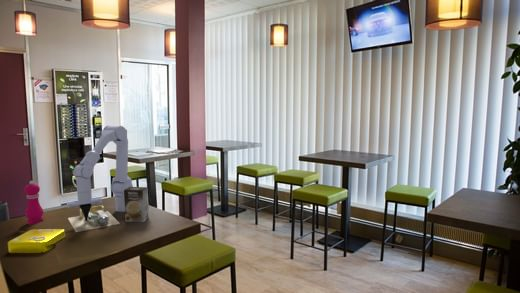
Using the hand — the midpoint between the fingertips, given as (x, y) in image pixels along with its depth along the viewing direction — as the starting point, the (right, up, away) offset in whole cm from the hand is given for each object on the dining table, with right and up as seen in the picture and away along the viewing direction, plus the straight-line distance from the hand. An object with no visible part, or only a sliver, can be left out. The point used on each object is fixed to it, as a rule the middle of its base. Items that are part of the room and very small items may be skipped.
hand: (86, 220), depth 166 cm
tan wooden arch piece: (-2, 0, +11) cm, 11 cm away
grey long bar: (+6, -1, +2) cm, 6 cm away
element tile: (-8, -6, -23) cm, 25 cm away
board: (+2, -2, +3) cm, 4 cm away
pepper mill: (-26, -2, +5) cm, 27 cm away
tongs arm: (+2, -1, +1) cm, 3 cm away
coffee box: (+22, -2, +3) cm, 23 cm away
